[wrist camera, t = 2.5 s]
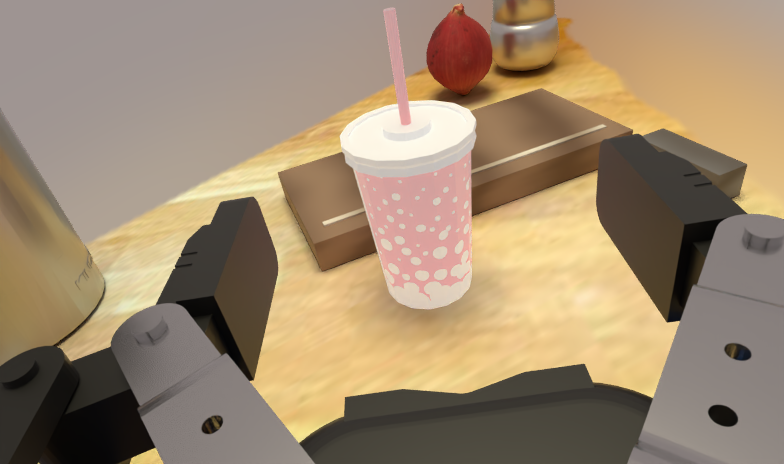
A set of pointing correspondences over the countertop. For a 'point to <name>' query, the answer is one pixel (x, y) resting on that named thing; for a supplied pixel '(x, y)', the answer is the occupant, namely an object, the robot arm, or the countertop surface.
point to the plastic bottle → (524, 33)
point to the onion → (459, 52)
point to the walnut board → (487, 168)
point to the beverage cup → (416, 189)
